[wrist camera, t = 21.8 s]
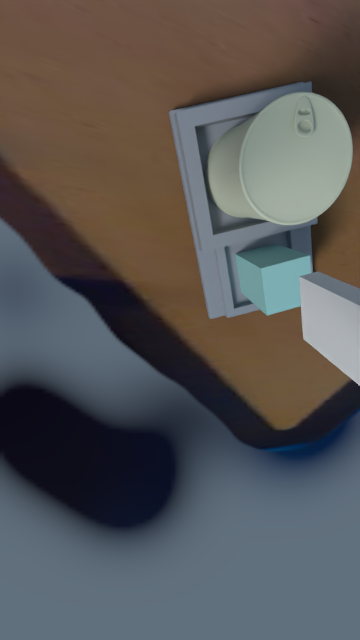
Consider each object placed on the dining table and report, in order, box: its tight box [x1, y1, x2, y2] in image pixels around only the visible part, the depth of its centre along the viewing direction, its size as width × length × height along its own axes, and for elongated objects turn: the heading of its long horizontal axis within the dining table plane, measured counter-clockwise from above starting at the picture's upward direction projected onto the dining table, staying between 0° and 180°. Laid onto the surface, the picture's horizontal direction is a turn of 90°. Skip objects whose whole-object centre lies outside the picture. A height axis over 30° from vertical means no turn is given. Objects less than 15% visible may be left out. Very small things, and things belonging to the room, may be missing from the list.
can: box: [205, 92, 353, 225], centre depth 29 cm, size 9×9×12 cm
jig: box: [169, 81, 318, 319], centre depth 36 cm, size 23×14×3 cm, turn 12°
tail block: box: [235, 244, 311, 315], centre depth 35 cm, size 5×5×8 cm
